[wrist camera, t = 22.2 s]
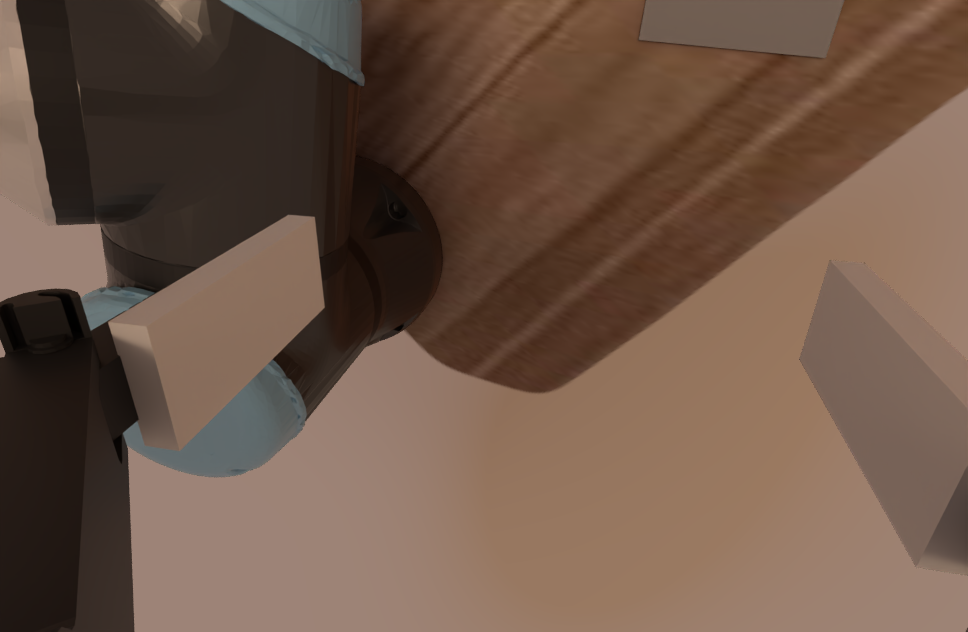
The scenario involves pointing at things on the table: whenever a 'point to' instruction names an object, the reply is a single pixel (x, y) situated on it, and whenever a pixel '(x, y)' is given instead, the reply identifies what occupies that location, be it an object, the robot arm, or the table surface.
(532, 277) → the table surface
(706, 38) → the backstop
